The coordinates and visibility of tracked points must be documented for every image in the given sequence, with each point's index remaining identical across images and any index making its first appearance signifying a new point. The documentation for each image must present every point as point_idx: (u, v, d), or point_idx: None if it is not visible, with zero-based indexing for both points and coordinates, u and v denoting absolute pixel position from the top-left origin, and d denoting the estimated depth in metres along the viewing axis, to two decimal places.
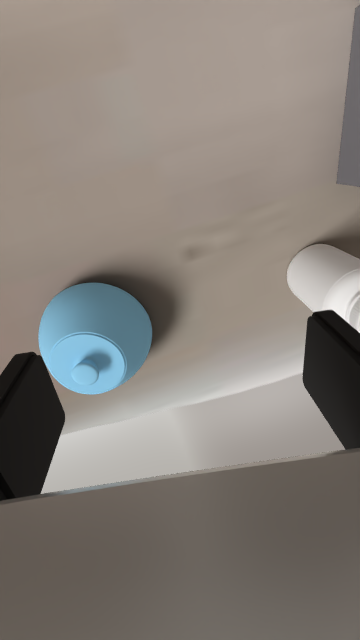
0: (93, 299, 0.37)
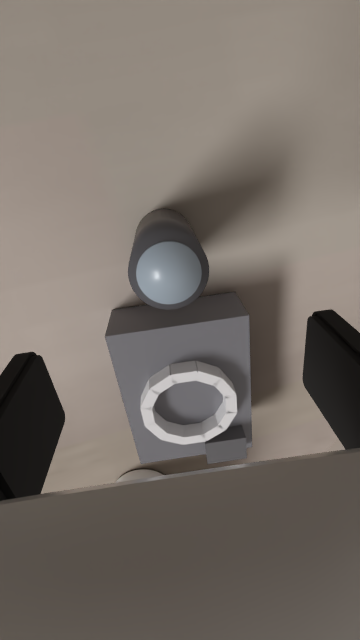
0: None
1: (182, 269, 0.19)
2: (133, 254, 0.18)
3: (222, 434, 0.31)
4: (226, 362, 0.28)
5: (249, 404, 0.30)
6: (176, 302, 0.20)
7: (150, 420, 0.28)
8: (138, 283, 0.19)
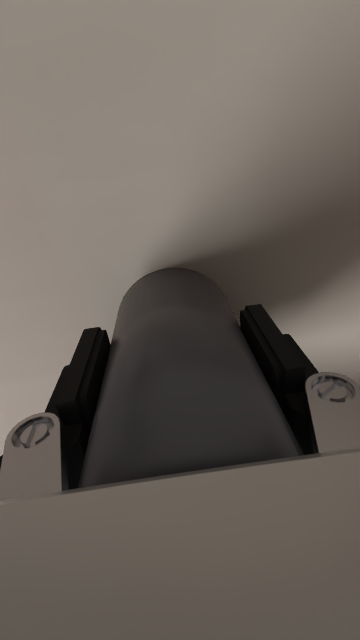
0: None
1: None
2: None
3: None
4: None
5: None
6: None
7: None
8: None
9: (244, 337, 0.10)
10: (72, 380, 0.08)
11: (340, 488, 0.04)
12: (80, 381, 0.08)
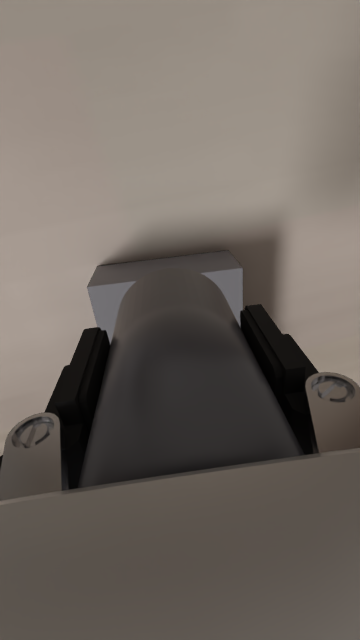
0: None
1: None
2: None
3: None
4: None
5: None
6: None
7: None
8: None
9: (244, 336, 0.10)
10: (72, 380, 0.08)
11: (340, 488, 0.04)
12: (80, 381, 0.08)
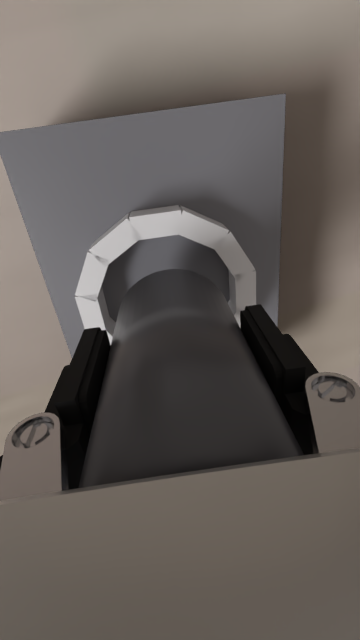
0: None
1: None
2: None
3: None
4: (237, 212, 0.15)
5: (274, 308, 0.17)
6: None
7: (96, 324, 0.15)
8: None
9: (244, 338, 0.10)
10: (72, 380, 0.08)
11: (340, 488, 0.04)
12: (80, 381, 0.08)
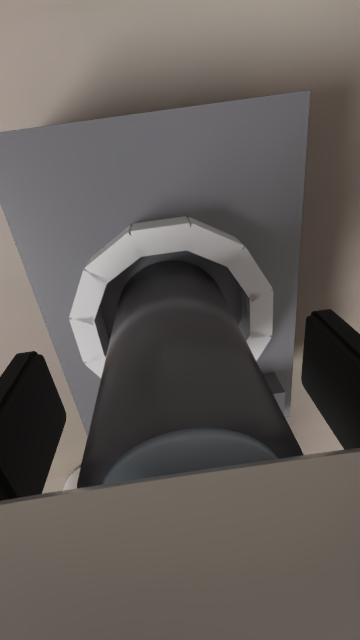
0: None
1: None
2: (89, 462, 0.06)
3: None
4: (253, 224, 0.13)
5: (291, 328, 0.16)
6: None
7: (93, 349, 0.14)
8: None
9: (236, 322, 0.11)
10: None
11: (340, 488, 0.04)
12: None
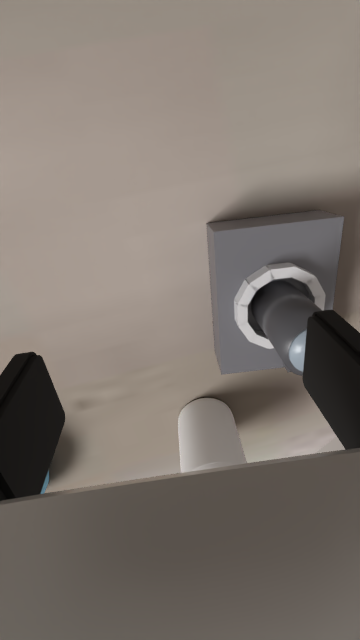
0: None
1: None
2: (290, 334, 0.23)
3: None
4: (316, 266, 0.30)
5: None
6: None
7: (243, 319, 0.31)
8: (289, 356, 0.24)
9: None
10: None
11: (340, 488, 0.04)
12: None
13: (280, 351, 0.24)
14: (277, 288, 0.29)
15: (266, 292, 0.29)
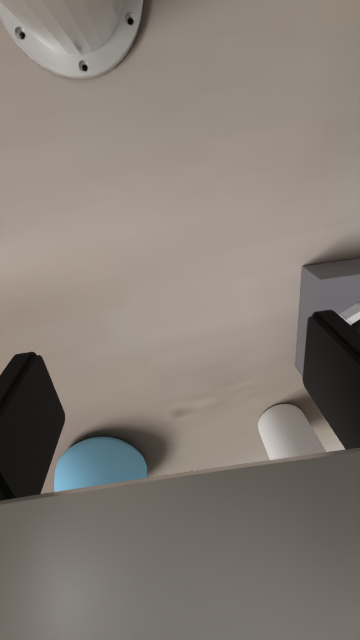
0: (100, 463, 0.46)
1: None
2: None
3: None
4: None
5: None
6: None
7: None
8: None
9: None
10: None
11: (340, 488, 0.04)
12: None
13: None
14: None
15: None
